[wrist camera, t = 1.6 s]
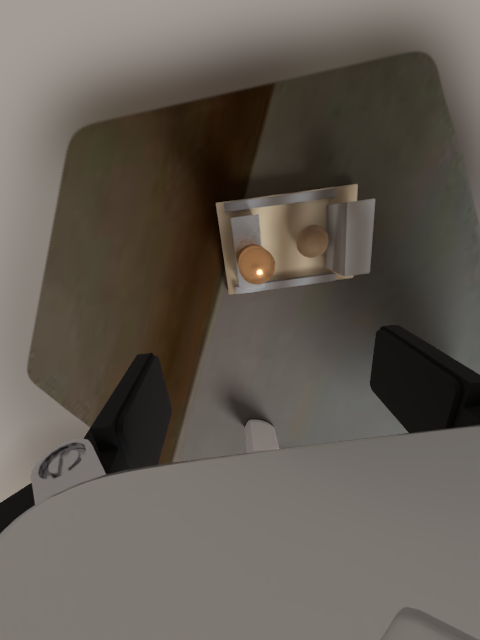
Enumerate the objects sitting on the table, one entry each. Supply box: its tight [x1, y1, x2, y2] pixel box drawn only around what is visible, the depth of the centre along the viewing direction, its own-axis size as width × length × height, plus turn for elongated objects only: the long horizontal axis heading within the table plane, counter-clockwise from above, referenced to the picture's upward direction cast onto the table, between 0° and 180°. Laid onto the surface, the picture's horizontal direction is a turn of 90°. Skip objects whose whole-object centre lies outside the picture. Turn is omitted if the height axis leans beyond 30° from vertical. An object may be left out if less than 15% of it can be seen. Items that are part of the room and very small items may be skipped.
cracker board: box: [216, 184, 375, 294], centre depth 31 cm, size 18×12×8 cm, turn 97°
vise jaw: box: [230, 214, 275, 290], centre depth 27 cm, size 3×8×14 cm, turn 7°
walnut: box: [296, 225, 329, 258], centre depth 31 cm, size 4×4×4 cm
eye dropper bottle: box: [245, 420, 279, 453], centre depth 42 cm, size 4×6×12 cm
